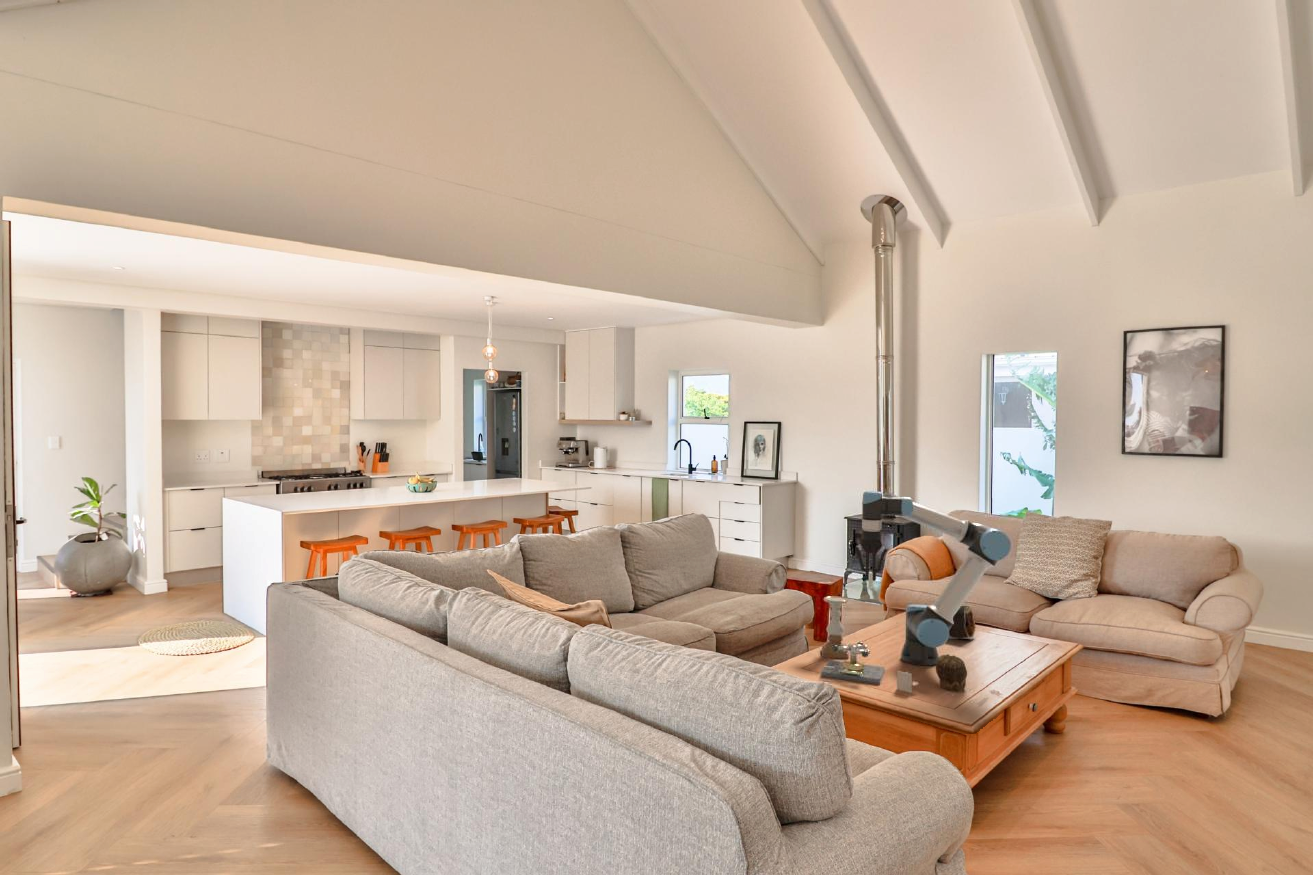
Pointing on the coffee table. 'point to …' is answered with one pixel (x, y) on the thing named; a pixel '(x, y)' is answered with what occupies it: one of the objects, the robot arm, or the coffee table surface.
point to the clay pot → (963, 624)
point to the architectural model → (905, 681)
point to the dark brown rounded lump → (951, 673)
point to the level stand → (853, 673)
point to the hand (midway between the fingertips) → (870, 588)
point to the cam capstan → (853, 656)
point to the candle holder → (835, 629)
